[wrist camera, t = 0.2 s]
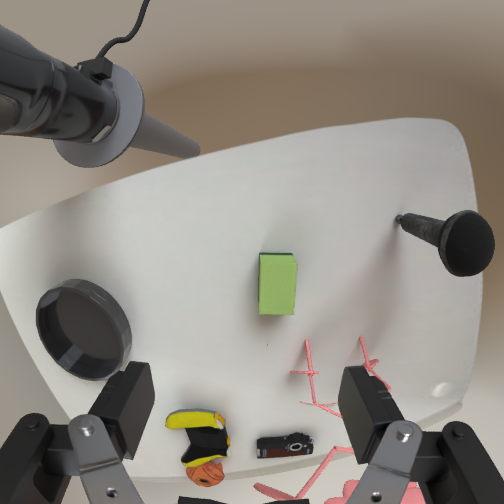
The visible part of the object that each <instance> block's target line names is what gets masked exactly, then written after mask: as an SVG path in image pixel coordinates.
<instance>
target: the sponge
mask: <svg viewBox="0 0 504 504" xmlns="http://www.w3.org/2000/svg"><path fill="white" fill-rule="evenodd" d="M296 275H297V262H296V260H295V258H294V256H293V254H292V253H260V256H259V291H258V303H259V314H275V315H293V314H294V303H295V290H296Z"/></svg>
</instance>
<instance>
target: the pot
mask: <svg viewBox="0 0 504 504" xmlns="http://www.w3.org/2000/svg"><path fill="white" fill-rule="evenodd" d="M186 473H187V475H188V477H189V478H190V479H191V480H192V481H193V482H195V483H196V484H197V485H199V486H204V487H210V486H213V485H217V484H219V483H220V482H221V481H222V480H223V479H224V473H223V471H222V464H221V463H219V464H218V466H217V465H215V464H213V463H211V462H206V463H204V464H201V465H199V466H197V467H187V469H186Z"/></svg>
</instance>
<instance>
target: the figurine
mask: <svg viewBox="0 0 504 504" xmlns="http://www.w3.org/2000/svg"><path fill="white" fill-rule="evenodd" d="M360 341H361V345H362V349H363V353H364V357H365V362H366V363H364V364H363V366H364V367H365V369H366V371H371V372H372V373H373V374H374V375H375V376H376V377H377V378H378V379H380V380H381V381H382V382H384V384H385V386H386V387H387V388H388V389H389V390H388V392H390V391H391V387H390V386H389V385H388V384H387V383H386V382H385V381H384V380H383V379H382V378H381V377H379V376H378V375H377V374H376V373H375V372H374V371H373V370H372V367H374V366H375V365H376V364H377V363H378V362H379V361H378V359H374V360H370V361H369V359H368V355H367V351H366V347H365V344H364V340H363V337H360ZM267 345H268V344H267ZM305 345H306V352H307V360H308V368H309V371H290V373H304V374H308V376H309V378H310V385H311V392H312V399H313V405H316V406H318V407H320V408H322V409H324V410H326V411H328V412H330V413H332V414H334V415H336V416H338V417H341V418H342V416H341V414H339V413H336V412H334V411H332V410H330V409H328V408H326V407H324V406H322V405H328V404H318V403H316V400H315V393H314V387H313V380H312V376H313V374H319V372H313V370H312V363H311V355H310V348H309V341H308V340H305ZM302 403H304V402H302ZM337 403H338V402H337ZM306 404H309V403H306ZM332 404H335V403H332ZM333 406H334V405H333ZM327 407H328V406H327ZM336 451H340V452H347V453H354V451H353V449H352V448H344V447H338V446H334V447H333V449H332V450H331V451H330V452H329V454H328V455H327V457H326V458H325V459H324V461H323V462H322V464H321V465H320V466H319V468H318V469H317V471H316V472H315V473H314V474H313V476H312V477H311V478H310V479H309V481H308V482H307V483H306V485H305V486H304V487H303V488H302V490H301V491H300V492H299V493H298V494H297V496H296V497H293V496H291V495H288V494H286V493H283V492H281V491H279V490H276V489H273V488H271V487H268V486H265V485H263V484H260V483H256V484H255V485H254V488H255V489H256V490H257V491H259V492H261V493H263V494H265V495H267V496H269V497H272V498H274V499H276V500H279V501H281V500H298V499H301V498H302V497H303V495H304V494H305V493H306V492H307V491H308V489H309V488H310V487H311V486H312V484H313V483H314V482H315V480H316V479H317V478H318V476H319V475H320V474H321V472H322V471H323V469H324V468H325V467H326V465H327V464H328V462H329V461H330V460H331V458H332V457H333V455H334V454H335V452H336ZM358 482H359V480H349V481H347V482H346V483H345V484H344V488H343V497H335V498H330V499H328V500H327V501H326V502H324V504H346V502H347V500H348V499H349V497H350V496H351V494H352V492H353V491H354V489H355V487H356V486H357V484H358ZM416 486H417V485H416V482H409V484H408V487H407V489H406V491H405V494H404V496H403V499H402V501H401V503H400V504H426V503H425V500H424V498H423V495H422V492H421V490H420V488H416Z"/></svg>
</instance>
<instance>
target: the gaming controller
mask: <svg viewBox="0 0 504 504" xmlns="http://www.w3.org/2000/svg"><path fill="white" fill-rule="evenodd" d="M165 426H166V427H168V428H170V429H182V428H185V429H186V432H187V434H188V437H189V440H190V442H191V444H190V446H189V447H188V449H187V450H186V452H185V453H184V455H183V456H182V458H181V462H182V464H183V465H185V466H187V467H197V466H199V465H201V464H204V463H206V462H208V461H210V460H212V459H215V458H217V457H223V458H224V457H227V456H231V454H230V450H229V447H230V438H229V437H228V436H227V432H226V428H225V419H224V418H223V417H222V416H221V415H219V414H218V413H217V412H214V411H210V410H203V409H182V410H177V411H175V412H172V413H170V414H169V415H168V417H167V418H166V423H165Z"/></svg>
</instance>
